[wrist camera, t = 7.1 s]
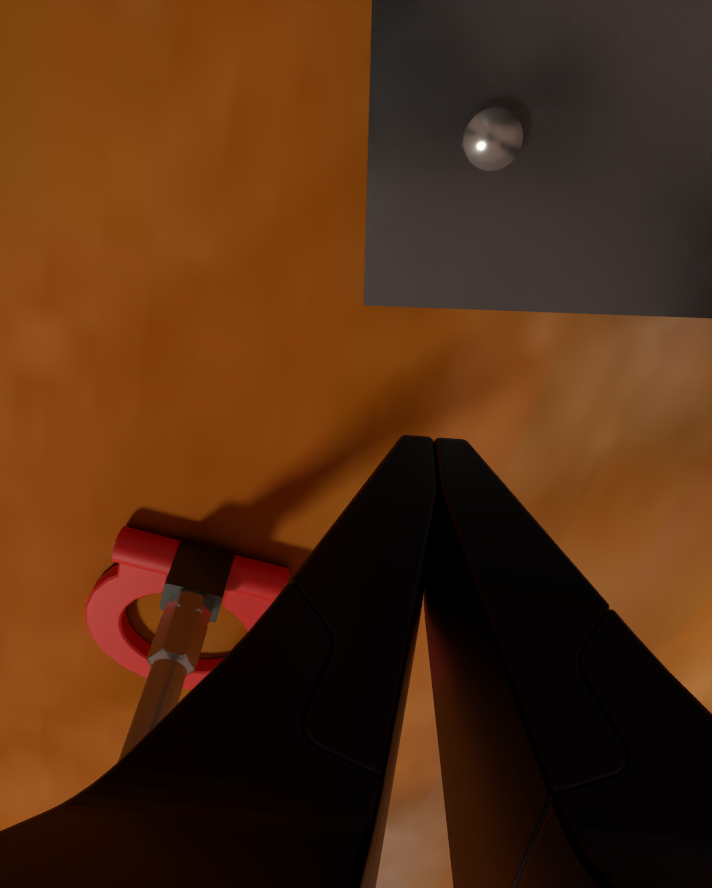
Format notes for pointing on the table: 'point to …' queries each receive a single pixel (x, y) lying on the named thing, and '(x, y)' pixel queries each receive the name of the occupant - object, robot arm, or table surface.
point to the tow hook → (173, 612)
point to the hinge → (541, 156)
